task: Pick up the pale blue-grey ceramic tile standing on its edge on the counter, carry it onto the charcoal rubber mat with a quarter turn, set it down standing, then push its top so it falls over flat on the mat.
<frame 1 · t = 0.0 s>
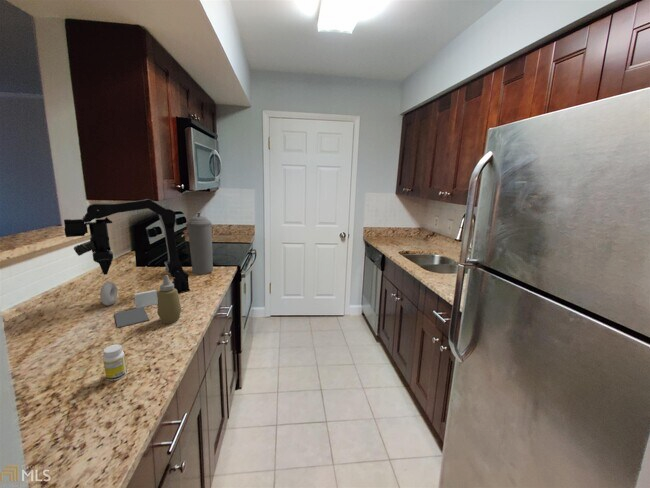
hand: (104, 271, 121), 15 cm above the worktop, tool pointing down, fingers open, 9 cm apart
squeeze bottle: (170, 320, 112), on the worktop
canister: (202, 272, 170), on the worktop
donut: (110, 304, 125), on the worktop
mat: (131, 317, 114), on the worktop
tile: (146, 305, 124), on the worktop
supplement bottle: (116, 376, 80), on the worktop
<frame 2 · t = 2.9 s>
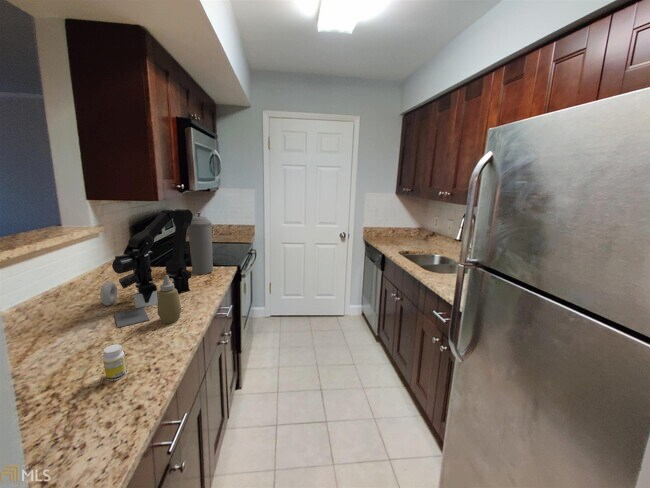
hand: (146, 302, 124), 2 cm above the worktop, tool pointing down, fingers closed on tile, 2 cm apart
tile: (146, 305, 124), on the worktop, touching gripper
everything else where it was.
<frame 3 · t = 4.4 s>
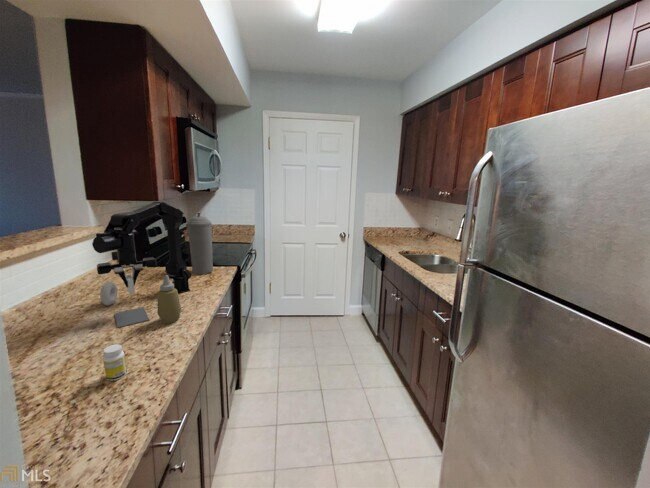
hand: (130, 286, 113), 12 cm above the worktop, tool pointing down, fingers closed on tile
tile: (130, 291, 114), point 10 cm above the worktop, touching gripper
everything else where it was.
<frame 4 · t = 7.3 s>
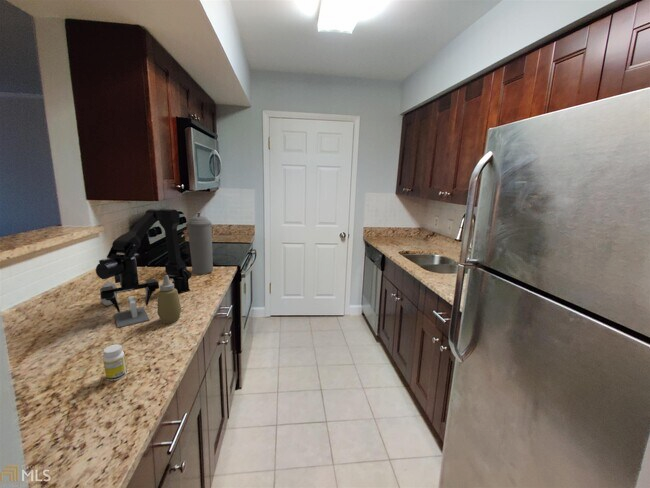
hand: (133, 308, 115), 3 cm above the worktop, tool pointing down, fingers open, 9 cm apart
tile: (133, 313, 116), resting on mat
everything else where it was.
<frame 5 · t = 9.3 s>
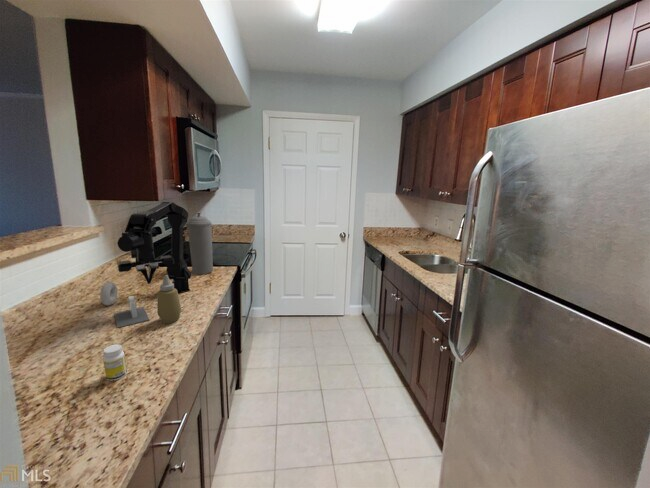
hand: (149, 283, 117), 12 cm above the worktop, tool pointing down, fingers closed
nothing on the worktop moved.
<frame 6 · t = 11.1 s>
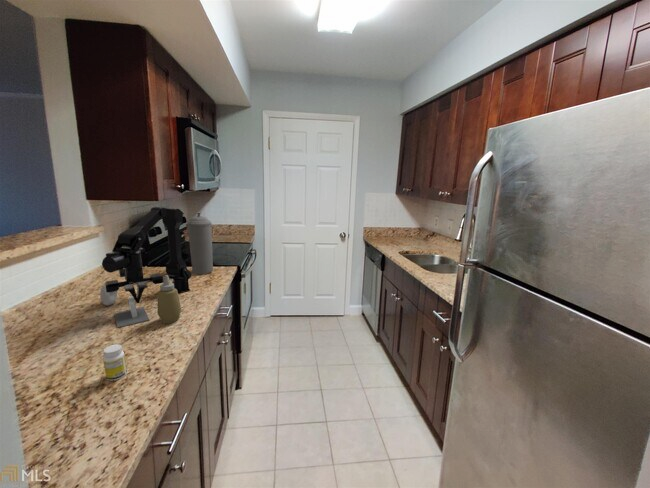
hand: (137, 302, 116), 5 cm above the worktop, tool pointing down, fingers closed
tile: (133, 313, 116), resting on mat, touching gripper
everything else where it was.
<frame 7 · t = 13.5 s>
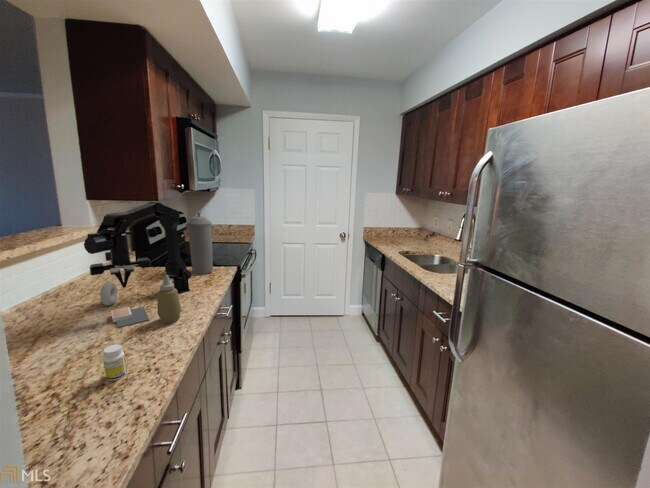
hand: (124, 287, 112), 12 cm above the worktop, tool pointing down, fingers closed
tile: (130, 312, 115), point 1 cm above the worktop, tilted 90°, touching mat
everything else where it was.
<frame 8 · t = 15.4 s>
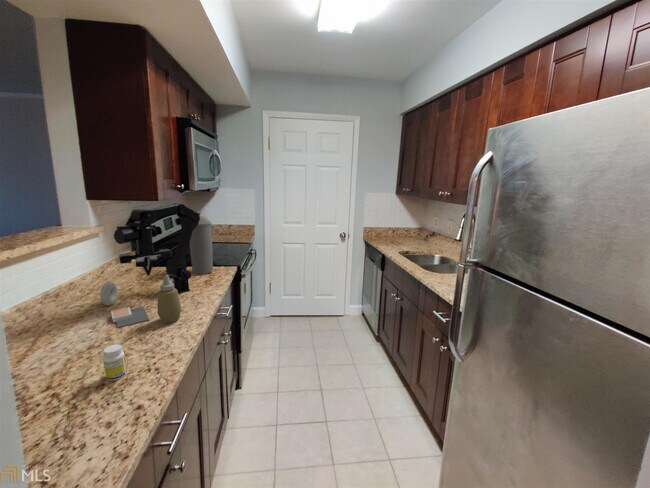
hand: (148, 275, 125), 13 cm above the worktop, tool pointing down, fingers closed
nothing on the worktop moved.
at the end: tile tilted 90°; tile inside the target area on the mat (2.2 cm from its centre), point 1.2 cm above the mat's base; the gripper is holding nothing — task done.
